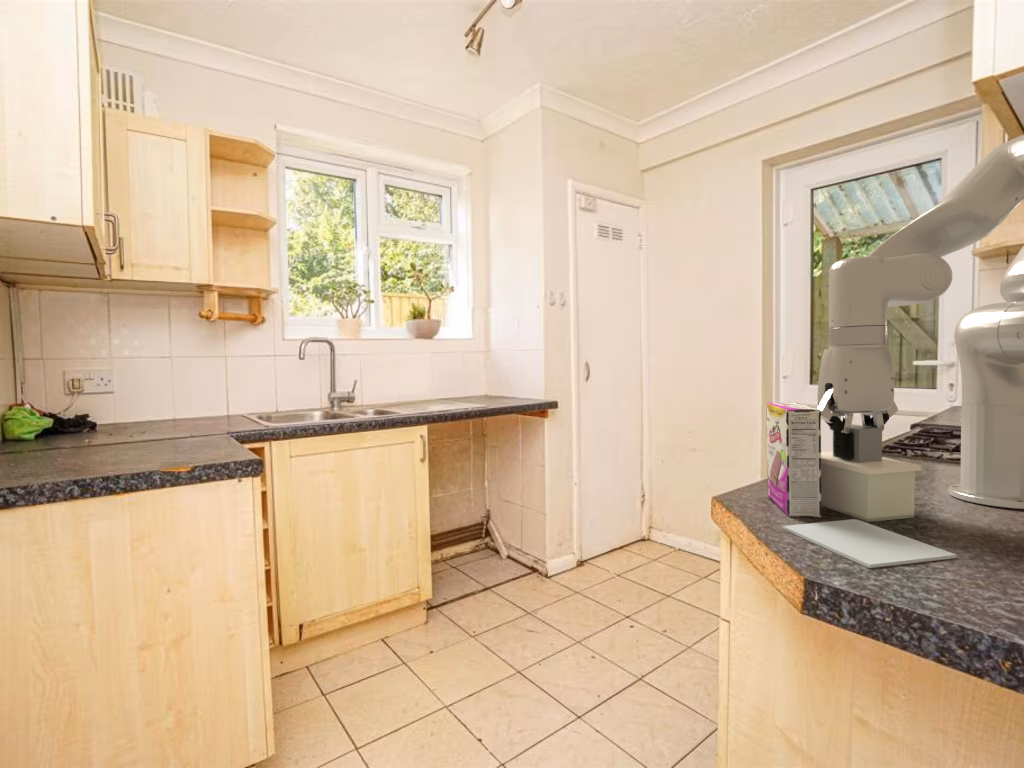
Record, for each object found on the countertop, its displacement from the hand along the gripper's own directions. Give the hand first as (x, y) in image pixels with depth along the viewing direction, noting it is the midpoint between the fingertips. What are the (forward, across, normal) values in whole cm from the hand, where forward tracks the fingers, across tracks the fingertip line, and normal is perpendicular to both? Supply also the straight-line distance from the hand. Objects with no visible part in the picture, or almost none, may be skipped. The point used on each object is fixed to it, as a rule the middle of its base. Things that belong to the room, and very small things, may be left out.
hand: (856, 455), depth 80 cm
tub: (+8, 0, 0) cm, 8 cm away
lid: (+2, 0, 0) cm, 2 cm away
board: (+8, +12, +12) cm, 19 cm away
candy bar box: (+9, +9, -3) cm, 13 cm away
